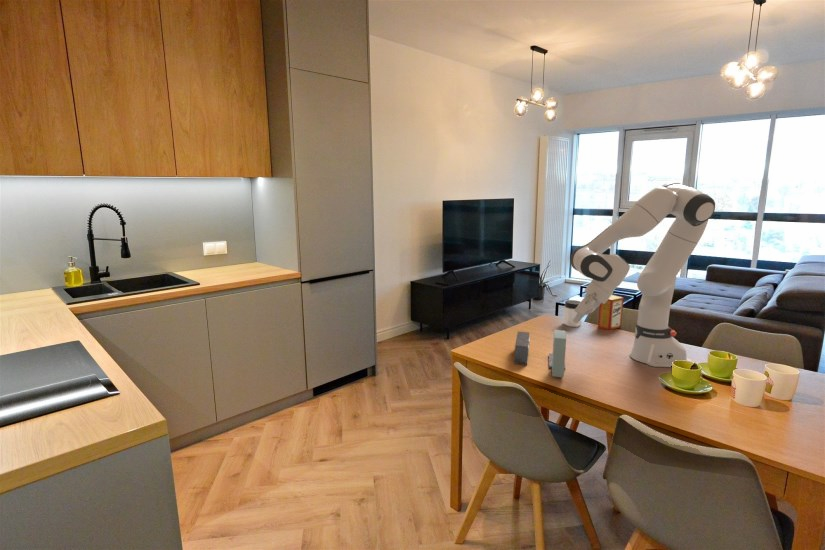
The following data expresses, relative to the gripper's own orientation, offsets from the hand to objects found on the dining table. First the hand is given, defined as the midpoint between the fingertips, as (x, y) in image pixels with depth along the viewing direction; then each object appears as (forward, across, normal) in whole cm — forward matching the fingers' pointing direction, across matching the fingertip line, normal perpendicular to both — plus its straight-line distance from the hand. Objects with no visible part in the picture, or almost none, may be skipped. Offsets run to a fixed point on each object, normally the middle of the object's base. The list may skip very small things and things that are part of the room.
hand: (575, 322), depth 173 cm
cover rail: (+18, +4, -4) cm, 19 cm away
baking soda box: (+2, +63, -8) cm, 63 cm away
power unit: (+26, +3, +9) cm, 27 cm away
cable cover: (+18, -8, -7) cm, 21 cm away
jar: (+11, +58, +6) cm, 60 cm away
